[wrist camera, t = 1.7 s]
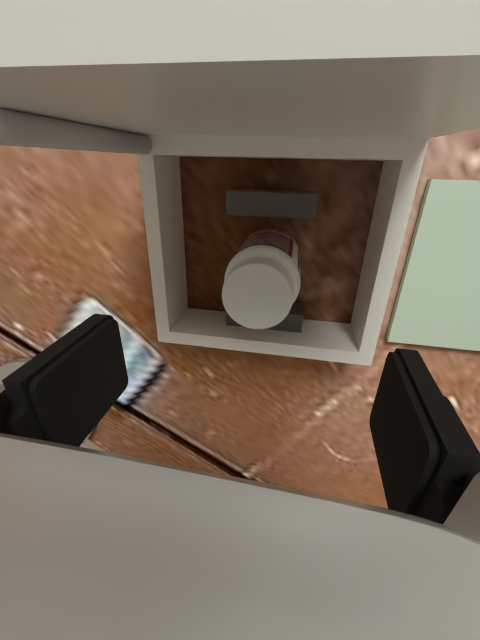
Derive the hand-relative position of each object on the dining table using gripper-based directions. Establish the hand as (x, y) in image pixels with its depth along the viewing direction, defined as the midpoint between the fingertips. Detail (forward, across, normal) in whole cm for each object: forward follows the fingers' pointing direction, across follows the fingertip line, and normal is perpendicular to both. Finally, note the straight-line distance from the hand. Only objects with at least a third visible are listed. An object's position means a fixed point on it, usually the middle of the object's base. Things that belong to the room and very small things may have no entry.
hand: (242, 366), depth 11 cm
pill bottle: (+16, +1, +1) cm, 16 cm away
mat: (+16, -14, +1) cm, 21 cm away
